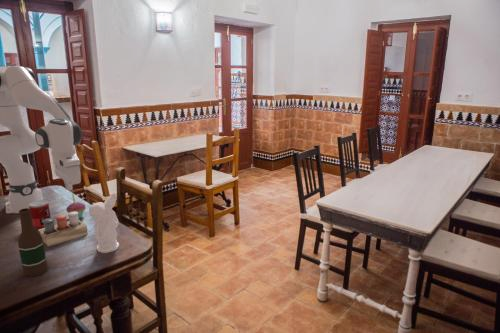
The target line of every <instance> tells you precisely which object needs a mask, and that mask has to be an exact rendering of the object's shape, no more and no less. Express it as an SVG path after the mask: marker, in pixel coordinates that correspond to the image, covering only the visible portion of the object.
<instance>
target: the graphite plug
mask: <svg viewBox="0 0 500 333" xmlns="http://www.w3.org/2000/svg"><path fill="white" fill-rule="evenodd" d="M42 222H43V224H44V228H45V233H46V234H51V233H54V232H55V228H54V225H55V223H54V222H55V219H54V218H52V217H51V218H48V219H45V220H43V221H42Z"/></svg>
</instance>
